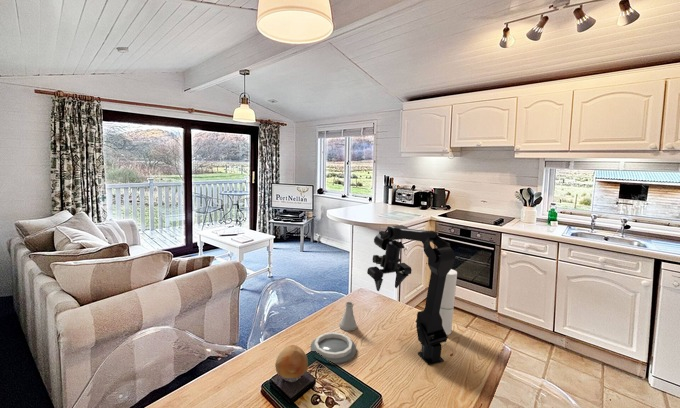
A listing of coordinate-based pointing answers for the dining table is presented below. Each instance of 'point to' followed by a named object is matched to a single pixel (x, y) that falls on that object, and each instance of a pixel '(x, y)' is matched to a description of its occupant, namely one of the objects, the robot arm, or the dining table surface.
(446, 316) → the cylindrical container
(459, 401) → the dining table surface
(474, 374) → the dining table surface
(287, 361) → the onion
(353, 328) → the flask
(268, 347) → the dining table surface
